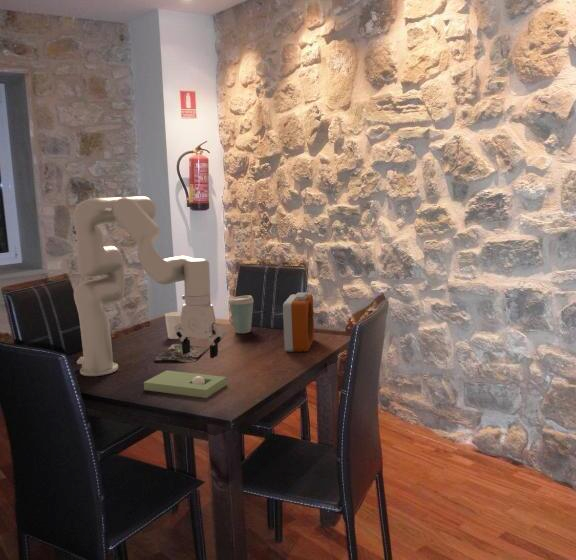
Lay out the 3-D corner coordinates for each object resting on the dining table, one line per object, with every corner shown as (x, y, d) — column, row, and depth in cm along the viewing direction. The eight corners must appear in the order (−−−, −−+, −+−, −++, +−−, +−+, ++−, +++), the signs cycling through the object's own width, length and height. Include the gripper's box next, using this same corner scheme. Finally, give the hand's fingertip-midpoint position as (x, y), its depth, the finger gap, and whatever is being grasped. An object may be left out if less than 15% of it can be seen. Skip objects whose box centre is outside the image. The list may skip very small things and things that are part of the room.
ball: (198, 393, 178) (187, 387, 179) (205, 389, 181) (195, 382, 183) (202, 382, 177) (191, 376, 178) (209, 378, 180) (198, 372, 181)
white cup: (180, 340, 239) (178, 316, 237) (163, 339, 241) (161, 315, 239) (189, 335, 246) (187, 311, 244) (172, 334, 248) (170, 311, 247)
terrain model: (194, 365, 207) (193, 356, 206) (154, 364, 210) (153, 356, 209) (211, 348, 227) (210, 340, 226) (174, 348, 229) (173, 340, 229)
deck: (144, 389, 181) (143, 382, 181) (167, 377, 192) (166, 370, 191) (206, 398, 172) (206, 389, 171) (226, 384, 183) (226, 377, 182)
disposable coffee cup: (231, 335, 242) (229, 300, 239) (229, 329, 252) (227, 295, 250) (257, 333, 244) (255, 298, 241) (253, 327, 254) (251, 293, 252)
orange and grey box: (308, 352, 213) (306, 297, 210) (284, 352, 215) (282, 297, 211) (314, 339, 231) (312, 288, 228) (292, 339, 233) (290, 288, 229)
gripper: (166, 300, 175) (169, 355, 178) (216, 305, 168) (218, 362, 171) (180, 295, 181) (183, 348, 185) (229, 299, 175) (231, 354, 178)
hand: (200, 355), depth 178 cm, fingers open, 9 cm apart
